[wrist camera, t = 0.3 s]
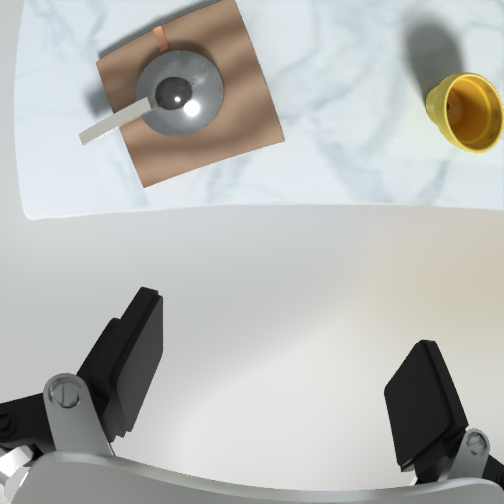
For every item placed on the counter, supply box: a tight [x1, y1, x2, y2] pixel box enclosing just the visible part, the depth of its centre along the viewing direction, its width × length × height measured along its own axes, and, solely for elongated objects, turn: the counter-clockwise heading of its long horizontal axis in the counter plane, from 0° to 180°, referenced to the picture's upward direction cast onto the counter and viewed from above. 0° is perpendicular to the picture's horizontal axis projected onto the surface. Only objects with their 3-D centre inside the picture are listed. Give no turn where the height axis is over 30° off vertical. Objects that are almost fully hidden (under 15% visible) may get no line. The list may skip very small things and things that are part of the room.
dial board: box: [96, 0, 285, 188], centre depth 38 cm, size 22×22×2 cm
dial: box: [79, 50, 225, 145], centre depth 36 cm, size 21×12×4 cm, turn 108°
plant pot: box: [426, 73, 504, 153], centre depth 31 cm, size 10×10×10 cm
